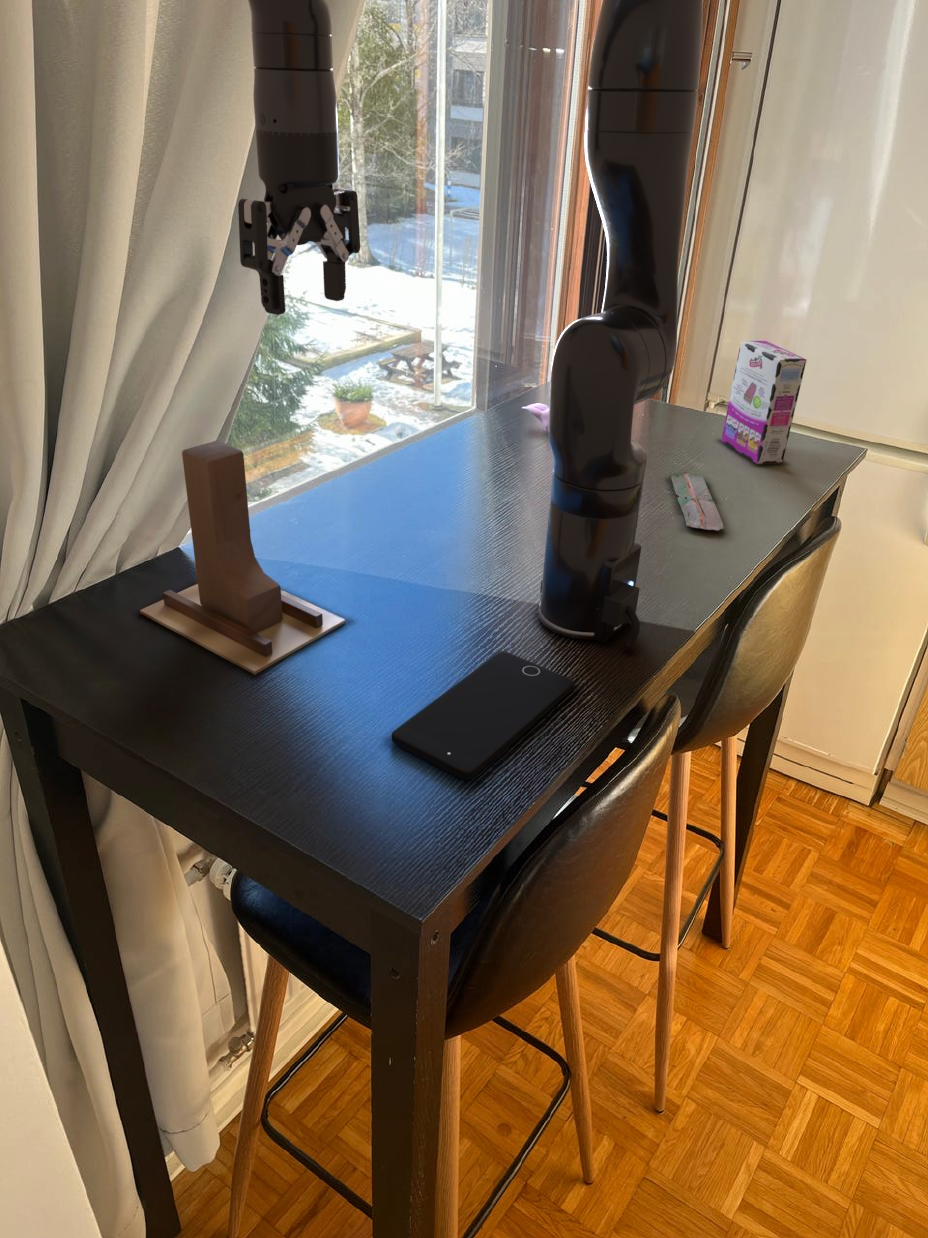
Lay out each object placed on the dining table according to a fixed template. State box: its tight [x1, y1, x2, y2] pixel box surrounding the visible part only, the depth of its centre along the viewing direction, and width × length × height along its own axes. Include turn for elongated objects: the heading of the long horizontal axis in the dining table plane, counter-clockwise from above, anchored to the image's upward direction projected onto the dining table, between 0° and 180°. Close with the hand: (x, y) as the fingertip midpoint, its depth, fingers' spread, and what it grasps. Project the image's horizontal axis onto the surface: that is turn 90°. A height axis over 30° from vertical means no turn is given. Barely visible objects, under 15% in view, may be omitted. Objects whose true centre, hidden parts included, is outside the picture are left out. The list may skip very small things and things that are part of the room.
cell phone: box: [391, 650, 576, 781], centre depth 89 cm, size 9×18×1 cm, turn 144°
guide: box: [139, 583, 346, 675], centre depth 102 cm, size 18×13×2 cm
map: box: [670, 471, 724, 531], centre depth 133 cm, size 5×20×1 cm, turn 176°
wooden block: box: [181, 440, 283, 633], centre depth 97 cm, size 9×4×18 cm, turn 48°
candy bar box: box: [721, 340, 807, 466], centre depth 147 cm, size 11×5×16 cm, turn 17°
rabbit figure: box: [521, 402, 549, 433], centre depth 153 cm, size 6×6×15 cm
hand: (305, 306), depth 96 cm, fingers open, 8 cm apart
